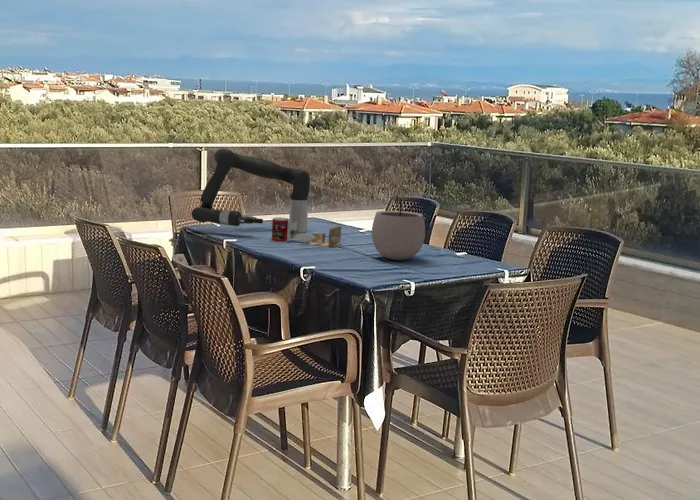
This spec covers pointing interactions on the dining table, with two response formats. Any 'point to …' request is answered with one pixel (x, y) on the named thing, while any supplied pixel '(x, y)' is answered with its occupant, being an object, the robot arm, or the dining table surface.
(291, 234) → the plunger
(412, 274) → the dining table surface
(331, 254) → the dining table surface
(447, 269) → the dining table surface
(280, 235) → the canned food
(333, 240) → the wooden stand
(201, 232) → the dining table surface
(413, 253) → the plant pot
